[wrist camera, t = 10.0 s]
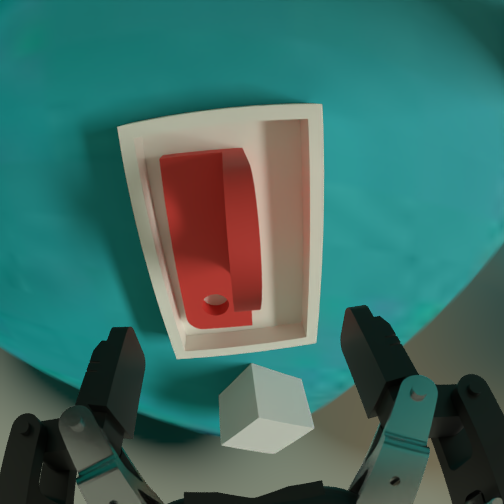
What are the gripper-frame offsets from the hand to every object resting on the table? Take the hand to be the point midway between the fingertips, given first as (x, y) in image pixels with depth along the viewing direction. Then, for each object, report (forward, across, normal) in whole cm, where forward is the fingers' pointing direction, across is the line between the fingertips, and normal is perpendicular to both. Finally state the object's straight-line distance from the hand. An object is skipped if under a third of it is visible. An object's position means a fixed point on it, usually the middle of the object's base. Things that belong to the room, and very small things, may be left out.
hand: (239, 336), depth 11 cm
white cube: (+10, -1, +18) cm, 20 cm away
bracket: (+9, +1, +1) cm, 9 cm away
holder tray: (+10, 0, +1) cm, 10 cm away
